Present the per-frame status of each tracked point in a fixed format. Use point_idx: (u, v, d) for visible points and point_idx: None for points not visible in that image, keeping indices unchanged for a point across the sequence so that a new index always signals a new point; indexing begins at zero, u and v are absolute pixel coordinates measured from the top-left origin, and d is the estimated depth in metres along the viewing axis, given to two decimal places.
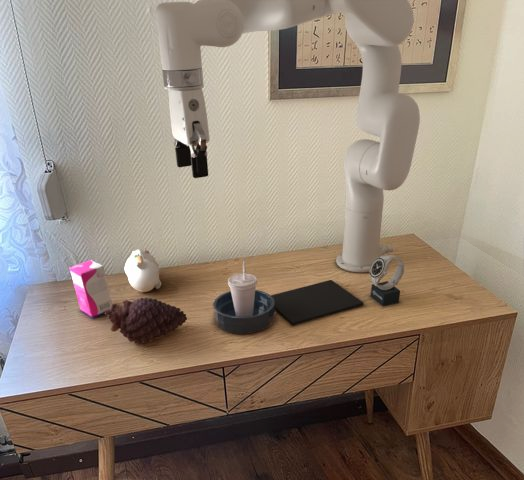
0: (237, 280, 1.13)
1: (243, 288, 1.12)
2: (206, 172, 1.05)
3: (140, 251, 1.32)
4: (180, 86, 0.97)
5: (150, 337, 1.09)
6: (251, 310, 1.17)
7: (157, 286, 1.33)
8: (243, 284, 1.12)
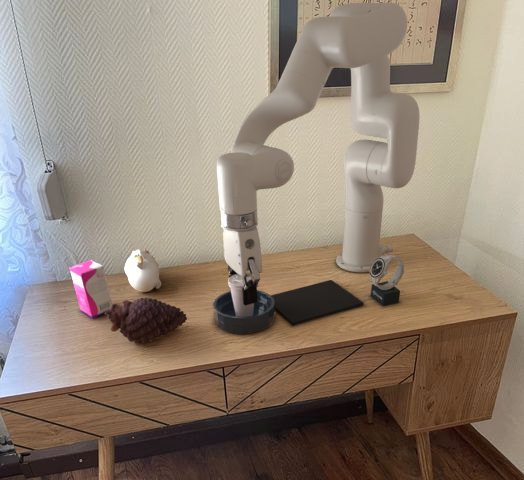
0: (237, 280, 1.13)
1: None
2: (255, 299, 1.13)
3: (140, 251, 1.32)
4: (237, 228, 1.04)
5: (150, 337, 1.09)
6: (251, 310, 1.17)
7: (157, 286, 1.33)
8: None
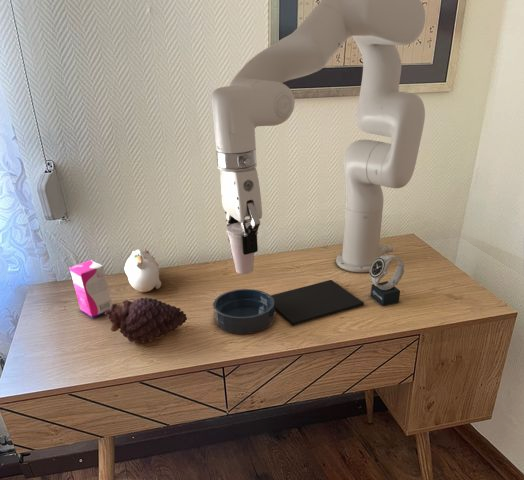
0: (236, 228, 1.07)
1: None
2: (256, 248, 1.07)
3: (140, 251, 1.32)
4: (235, 168, 0.97)
5: (150, 337, 1.09)
6: (251, 261, 1.11)
7: (157, 286, 1.33)
8: (242, 232, 1.06)
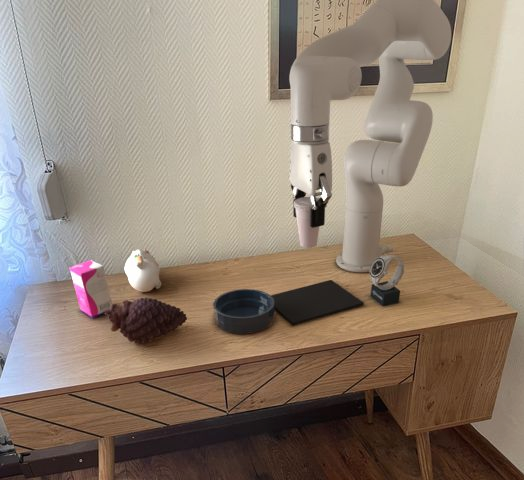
0: (303, 202, 1.10)
1: None
2: (323, 221, 1.10)
3: (140, 251, 1.32)
4: (310, 141, 1.01)
5: (150, 337, 1.09)
6: (316, 235, 1.14)
7: (157, 286, 1.33)
8: (311, 205, 1.09)
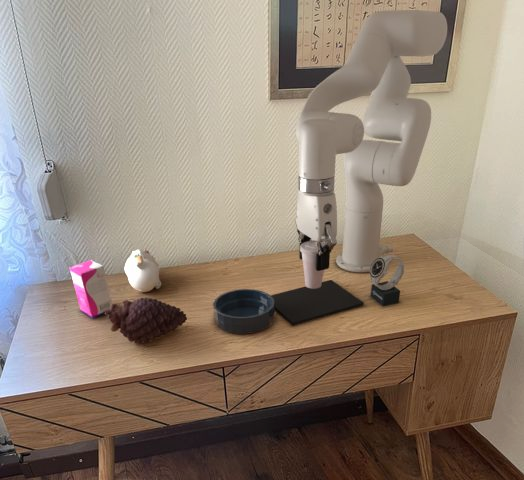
0: (309, 246, 1.16)
1: None
2: (327, 265, 1.16)
3: (140, 251, 1.32)
4: (317, 192, 1.07)
5: (150, 337, 1.09)
6: (321, 277, 1.20)
7: (157, 286, 1.33)
8: (316, 250, 1.15)
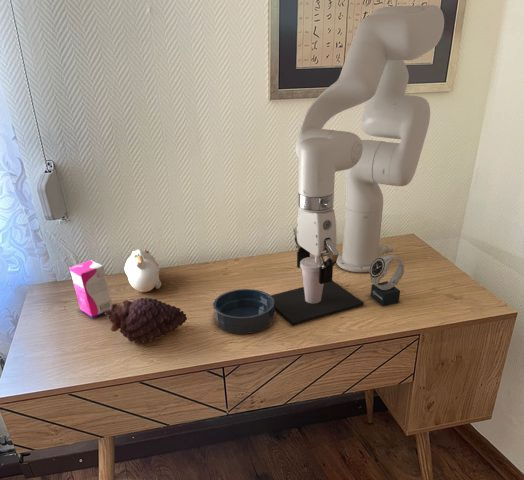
0: (309, 263, 1.19)
1: (316, 270, 1.17)
2: (330, 278, 1.17)
3: (140, 251, 1.32)
4: (316, 209, 1.09)
5: (150, 337, 1.09)
6: (321, 292, 1.22)
7: (157, 286, 1.33)
8: (316, 266, 1.17)
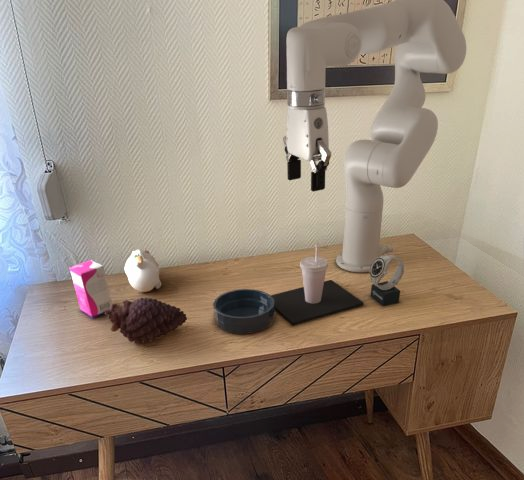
0: (309, 263, 1.19)
1: (316, 270, 1.17)
2: (323, 185, 1.11)
3: (140, 251, 1.32)
4: (307, 106, 1.03)
5: (150, 337, 1.09)
6: (321, 292, 1.22)
7: (157, 286, 1.33)
8: (316, 266, 1.17)
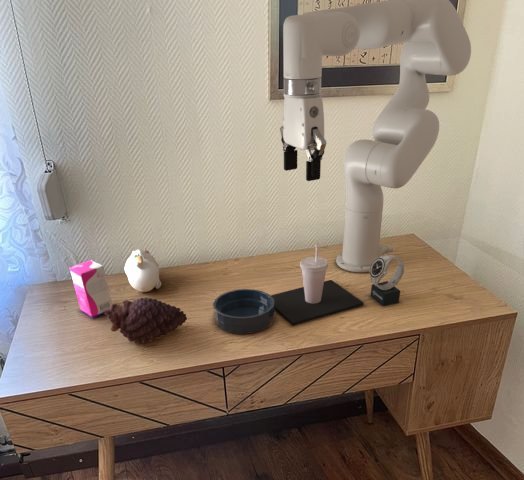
0: (309, 263, 1.19)
1: (316, 270, 1.17)
2: (318, 175, 1.11)
3: (140, 251, 1.32)
4: (303, 94, 1.03)
5: (150, 337, 1.09)
6: (321, 292, 1.22)
7: (157, 286, 1.33)
8: (316, 266, 1.17)
